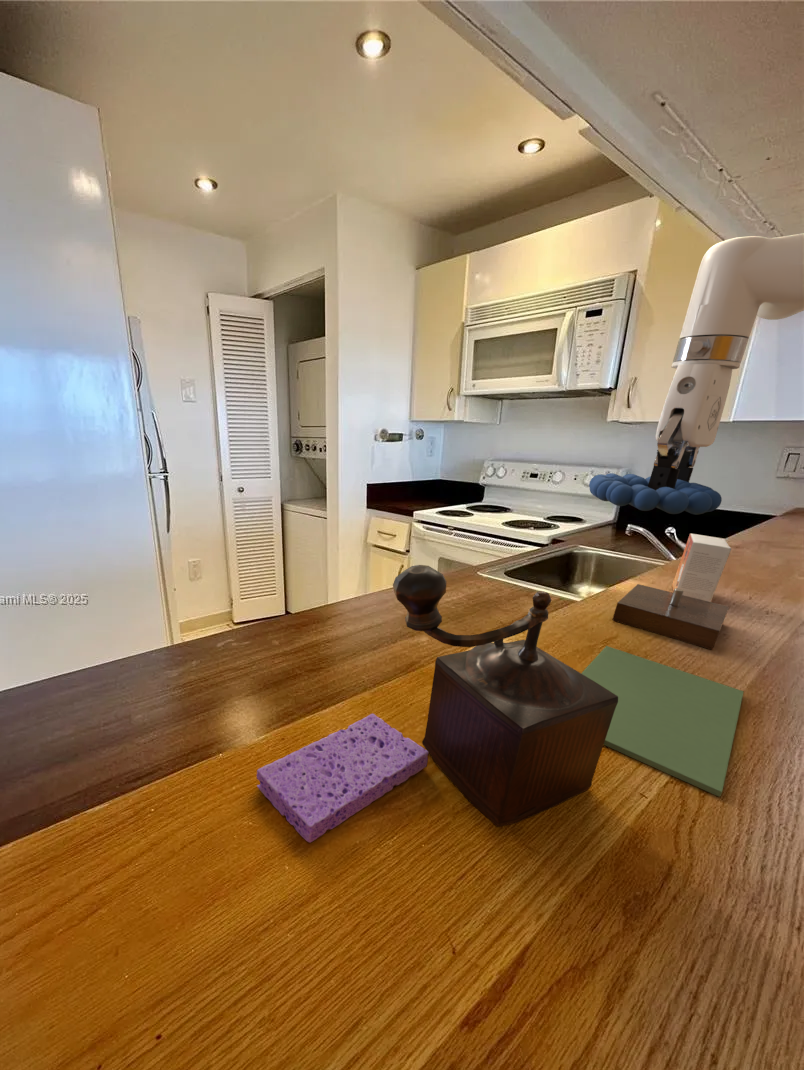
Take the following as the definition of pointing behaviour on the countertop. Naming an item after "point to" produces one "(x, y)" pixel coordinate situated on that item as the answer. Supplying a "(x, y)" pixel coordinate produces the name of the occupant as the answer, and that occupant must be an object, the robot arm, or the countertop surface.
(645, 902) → the countertop surface
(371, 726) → the sponge
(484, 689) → the dark brown coffee grinder
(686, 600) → the platform
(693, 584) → the small box
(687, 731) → the mat
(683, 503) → the ring
